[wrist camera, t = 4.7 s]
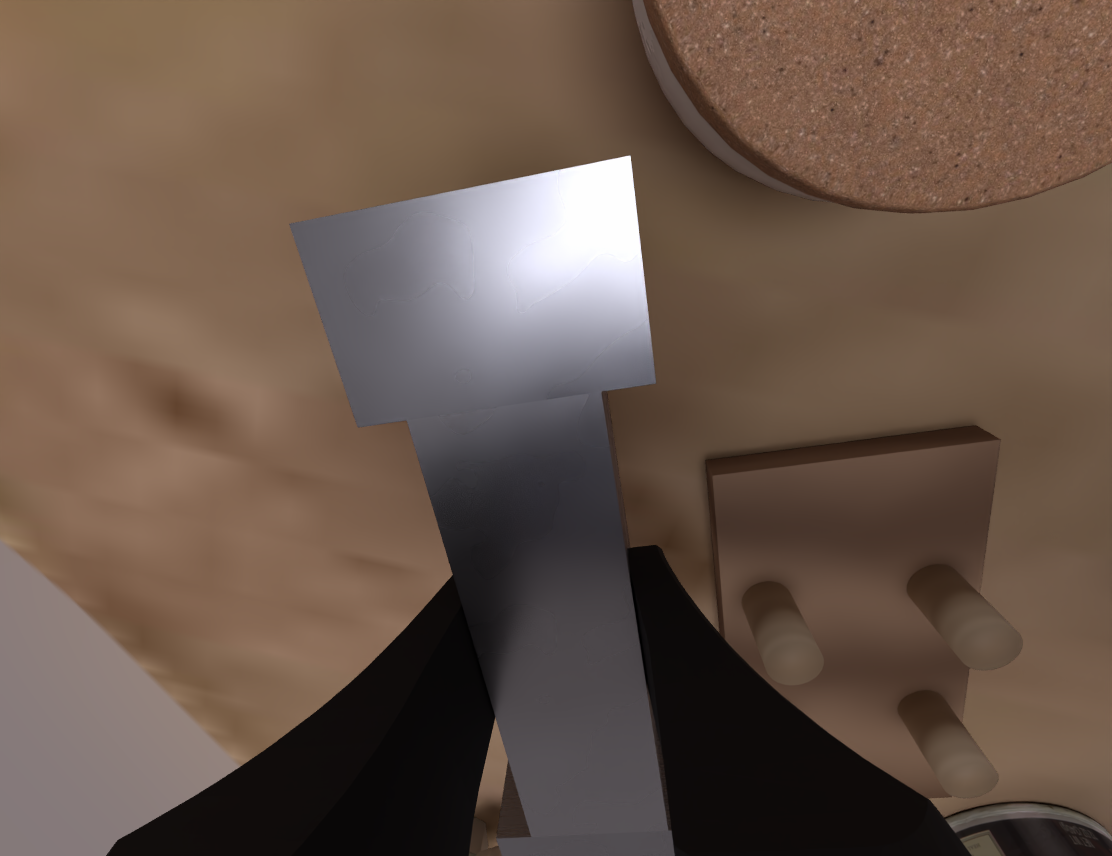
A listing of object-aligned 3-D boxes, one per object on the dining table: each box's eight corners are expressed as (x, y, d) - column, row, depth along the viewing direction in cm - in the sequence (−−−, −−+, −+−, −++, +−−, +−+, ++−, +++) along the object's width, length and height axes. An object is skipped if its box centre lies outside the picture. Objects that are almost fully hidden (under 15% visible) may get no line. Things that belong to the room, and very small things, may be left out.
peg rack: (705, 460, 19) (734, 523, 15) (976, 425, 18) (1079, 484, 14) (732, 781, 26) (757, 884, 22) (935, 770, 24) (1000, 876, 21)
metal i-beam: (391, 217, 11) (289, 223, 7) (617, 173, 10) (630, 156, 7) (538, 760, 17) (522, 917, 13) (687, 751, 16) (715, 912, 13)
